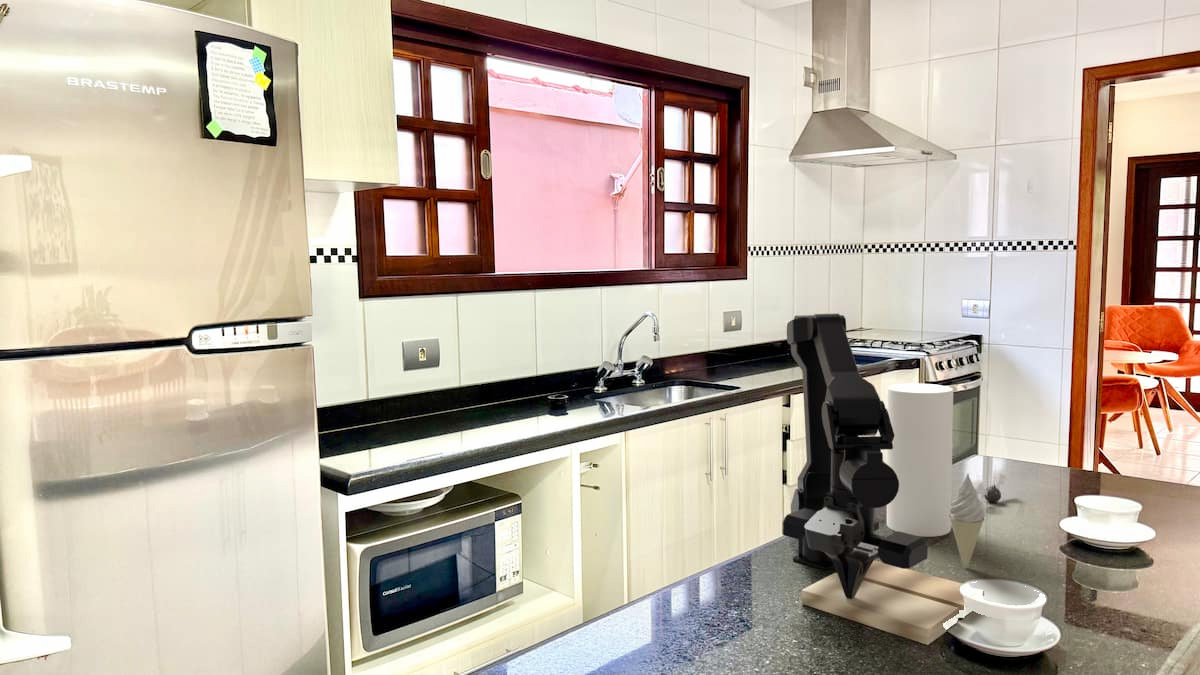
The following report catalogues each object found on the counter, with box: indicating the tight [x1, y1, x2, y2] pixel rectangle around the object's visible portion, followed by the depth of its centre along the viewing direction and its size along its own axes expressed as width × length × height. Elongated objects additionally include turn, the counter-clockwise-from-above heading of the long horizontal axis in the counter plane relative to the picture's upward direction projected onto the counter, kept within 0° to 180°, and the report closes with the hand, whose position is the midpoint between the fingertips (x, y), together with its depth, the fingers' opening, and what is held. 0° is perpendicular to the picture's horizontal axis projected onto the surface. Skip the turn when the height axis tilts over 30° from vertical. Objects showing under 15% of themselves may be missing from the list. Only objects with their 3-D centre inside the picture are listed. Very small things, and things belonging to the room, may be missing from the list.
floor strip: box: [863, 559, 964, 610], centre depth 118 cm, size 18×8×2 cm, turn 44°
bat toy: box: [975, 474, 1009, 504], centre depth 159 cm, size 3×15×5 cm, turn 130°
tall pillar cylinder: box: [886, 382, 954, 538], centre depth 145 cm, size 11×11×25 cm
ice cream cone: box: [949, 473, 986, 569], centre depth 126 cm, size 5×5×15 cm
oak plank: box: [801, 572, 959, 646], centre depth 111 cm, size 18×9×2 cm, turn 44°
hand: (850, 597), depth 112 cm, fingers closed
